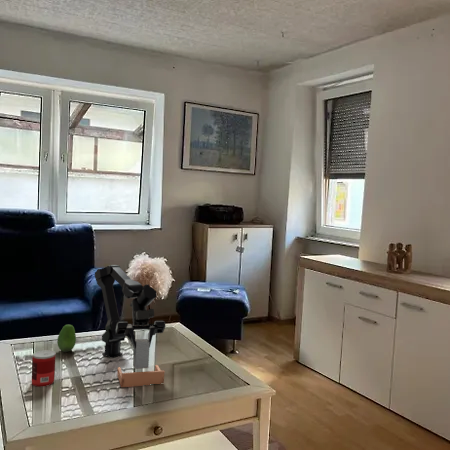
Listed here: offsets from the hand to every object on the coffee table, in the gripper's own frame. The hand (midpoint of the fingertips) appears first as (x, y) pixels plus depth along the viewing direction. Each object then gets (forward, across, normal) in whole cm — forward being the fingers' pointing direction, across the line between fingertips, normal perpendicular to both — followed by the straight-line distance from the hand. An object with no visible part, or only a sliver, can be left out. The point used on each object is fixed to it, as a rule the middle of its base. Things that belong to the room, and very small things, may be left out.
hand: (142, 347), depth 179 cm
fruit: (-17, -26, +36) cm, 48 cm away
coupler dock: (+8, 0, +10) cm, 13 cm away
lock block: (+5, 0, +6) cm, 8 cm away
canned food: (+7, -35, +12) cm, 38 cm away
